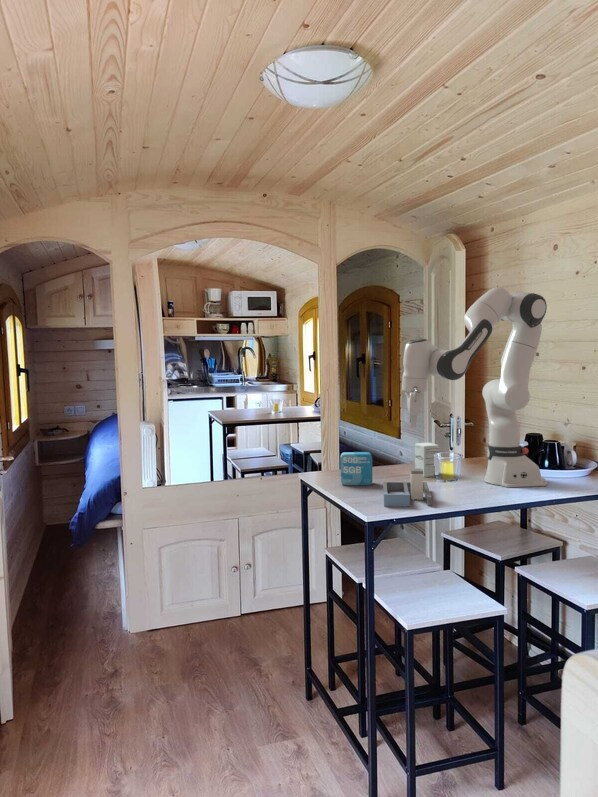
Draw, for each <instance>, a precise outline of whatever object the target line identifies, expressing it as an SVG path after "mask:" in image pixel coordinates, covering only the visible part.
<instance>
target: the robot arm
mask: <svg viewBox="0 0 598 797" xmlns="http://www.w3.org/2000/svg"><path fill="white" fill-rule="evenodd" d="M547 308H548V304H547V301H546V299H545V297H543V296H542V295H541V294H537V293H534V292H533V293H532V292H530V293H529V292H524V291H516V292H515V291H514V292H509V291H508V290H506V289H505V288H504V287H501V286H500V287H499V286H495V287H493V288H491V289H489V290H488V291H486V292H485V293H484V294H482V295H481V296H480V297H479V298H477V299H476V300H475V301H474V302H473V304H471V305H470V307H469V308H468V309H467V310H466V312H465V314H464V316H463V323H464V326H465V327H466V329H467V330H468V334H467V335H466V337H464V339H463V340H462V342H461V343H460V344H459V345H458V346H457V347H455V348H453V349H442V348H439V347H438V346H436V345H434V344H432V343H431V342H430V341H429V340H428V339H426V338H415V339H411V340H409V341H407V342H406V344H405V347H404V351H403V359H402V360H403V361H402V362H403V363H402V364H403V365H402V367H403V373H402V376H401V378H402V382H401V391H405V392H404V395H405V396H406V406H407V410H408V414H409V415H408V416H409V423H410V428H416V427H417V422H418V417H419V416H420V415H421V410H422V409H421V406H422V397H424V395H425V394H424V393H425V392H426V393H427V392H428V390H429V388H428V386H429V376H433V377H438V378H444V379H447V380H449V381H457V380H459V379H461V378H462V377H464V376H465V374H466V373H467V371H468V368H469V367H470V365H471V362H472V361H473V359H474V358H475V357H476V355H477V354H478V352H479V351H480V350H481V349H482V348H483V346H484V345H485V344H486V342H487V340H489V338H490V336H491V334H493V333H492V332H493V329H495V327H496V325H497V324H498V323H499V322H501V321H506V322H509V323H511V324H512V325H511V326H512V329H511V331H510V334H509V335H508V338H507V341H506V344H505V347H504V349H503V352H502V356H501V359H500V368H501V369H500V370H501V371H500V377H499V378H497V379H493V380H490V381H488V382H486V384H484V385H483V388H482V390H481V391H482V393H481V394H482V397H483V399H484V402H485V409H486V415H487V419H488V444H487V450H486V451H487V455H486V456H487V460H488V461H487V468H486V472H485V477H484V479H483V480H484V482H486V483H488V484H490V485H491V484H492V485H496V486H501V487H506V488H515V487H516V488H523V487H544V486H545V487H546V486H548V480H547V479H546V478H544V477H543V476H542V474H541V470H540V467H539V465H538V464H536V463H535V462H534V461H533V460H532V459H530V458H529V457H527V454H528V453H529V449H528V448H527V447H524V446H522V445H521V444H520V442H521V441H520V439H521V436H520V435H521V427H520V422H519V420H518V417H517V414H516V411H518V410H522V409H524V408H525V407H526V406H527V405H528V404H529V402H530V397H531V396H530V391H529V381H530V372H531V368H532V365H533V362H534V359H535V357H536V354H537V351H538V347H539V344H540V340H541V335H542V330H543V329H542V328H543V327H542V321H543V320H544V318H545V315H546V313H547Z"/></svg>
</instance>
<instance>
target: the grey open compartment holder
mask: <svg viewBox="0 0 598 797" xmlns="http://www.w3.org/2000/svg"><path fill="white" fill-rule="evenodd" d="M382 485H383V486H382V487H383V488H382V489H383V506H384V507H397V506H399V507H398V508H400V507H402V506H403V508H404V507H405V508H407V507H406V506H410V507H411V503H410V501H411V493H410V492H411V481H383V484H382ZM388 491H389V492H391V491H394V492H396V491H399V492H401V491H402V492H403V493H388ZM423 495H424V497H425V501H426V504H427V506H428V507H432V506H433V501H432V500H433V498H432V494H431V491H430V488H429V485H428V483H427V481H423Z"/></svg>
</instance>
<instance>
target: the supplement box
mask: <svg viewBox="0 0 598 797" xmlns="http://www.w3.org/2000/svg"><path fill="white" fill-rule="evenodd" d="M435 453H439V454H440V445H439V444H436V443H433V442H421V443H420V442H419V443H418V442H417V443H415V444H414V469H423V478H431V477H435V476H434V475H435V466H434V454H435Z"/></svg>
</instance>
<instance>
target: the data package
mask: <svg viewBox="0 0 598 797" xmlns="http://www.w3.org/2000/svg"><path fill="white" fill-rule="evenodd" d="M339 458H340V483H341V484H342V485H343V486H370V485H372V484H373V456H372V454H371V452H369V451H353V452H349V451H348V452H347V451H346V452H345V451H344V452H342V453H340V457H339Z"/></svg>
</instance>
